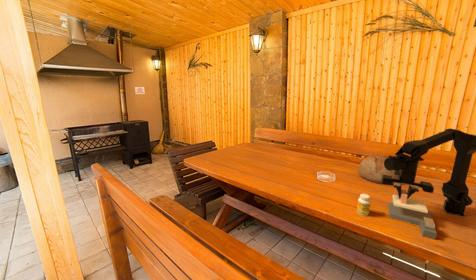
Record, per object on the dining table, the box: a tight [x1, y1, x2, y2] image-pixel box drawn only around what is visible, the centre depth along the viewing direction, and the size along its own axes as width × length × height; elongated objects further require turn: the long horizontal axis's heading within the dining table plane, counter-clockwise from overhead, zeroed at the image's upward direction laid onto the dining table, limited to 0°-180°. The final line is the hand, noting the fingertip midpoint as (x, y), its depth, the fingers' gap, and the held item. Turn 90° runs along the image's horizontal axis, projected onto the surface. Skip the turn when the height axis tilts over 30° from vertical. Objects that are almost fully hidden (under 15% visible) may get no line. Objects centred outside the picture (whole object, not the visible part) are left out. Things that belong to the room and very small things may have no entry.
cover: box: [391, 188, 428, 213], centre depth 97 cm, size 12×10×6 cm
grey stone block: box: [423, 217, 436, 230], centre depth 88 cm, size 3×5×2 cm, turn 147°
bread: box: [358, 154, 399, 185], centre depth 140 cm, size 26×23×15 cm
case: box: [387, 202, 437, 240], centre depth 95 cm, size 16×20×3 cm
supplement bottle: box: [356, 193, 372, 217], centre depth 101 cm, size 5×5×10 cm
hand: (402, 199), depth 99 cm, fingers closed on cover
